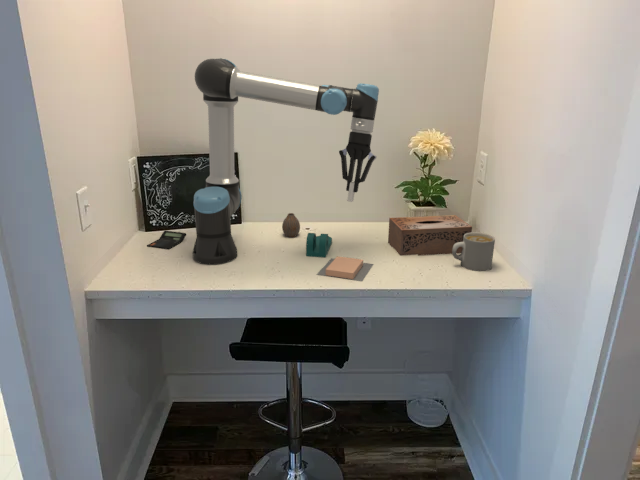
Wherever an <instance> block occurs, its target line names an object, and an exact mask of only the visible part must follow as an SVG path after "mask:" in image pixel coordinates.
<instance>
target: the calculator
mask: <svg viewBox="0 0 640 480" xmlns="http://www.w3.org/2000/svg"><path fill="white" fill-rule="evenodd" d="M186 237H187V233H186V232H180V231H171V230H164V231H163V232H162V234H161V235H160V236H159V238H158V239H156V240H154V241H153V242H152V241H151V242H150V243H149V244H147V245H146V247H148V248H154V249H162V250H168V251H169V250H171V249H173V248H175V247H177V246H178V245H179V244H182V243H181V242H183V241H184V239H185V238H186Z"/></svg>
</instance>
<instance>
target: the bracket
mask: <svg viewBox="0 0 640 480" xmlns="http://www.w3.org/2000/svg"><path fill="white" fill-rule="evenodd" d="M305 241H306V242H305V246H306V247H305V249H306V251H305V256H306V257H312V258H314V257H315V258H326V257H327V255H328V252H329V250H330V248H331V246H332V243H333V238H332V237H331V236H329V233H320V235H317V234H316V233H315V232H308V233H307V235H306V239H305Z"/></svg>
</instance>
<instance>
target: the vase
mask: <svg viewBox="0 0 640 480" xmlns="http://www.w3.org/2000/svg"><path fill="white" fill-rule="evenodd" d="M281 227H282V228H281V229H282V233H283V234H284V235H285V236H286V237H288V238H295V237H297V236H298V235H299V233H300V231H301V224H300V220H299V219H298V218H297V217H296V214H295V213H293V212H289V213H287V215H286V217H285V218H284V219H283V222H282V225H281Z"/></svg>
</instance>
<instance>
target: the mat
mask: <svg viewBox="0 0 640 480" xmlns="http://www.w3.org/2000/svg"><path fill="white" fill-rule="evenodd" d="M334 259H335V258H333V257H330V259H329V260H328V261H327V262H326V263H325V265H323V267H322V268H321V269H320V270H319V271H318V272H317V273H316V275H317V276H320V277H321V276H322V277H329V278H334V279H335V278H336V279H341V280H342V279H343V280H350V281H356V282H363V281H364V280H365V278H366V277H367V275H368V274H369V272H370V271H371V269H372V268H373V266H374V265H375V264H374V263H369V262H363V266H362V268H361V269H360V270H359V272H358V273H357V275H356V276H355V277H354V279H348V278H341V277H335V276H328V275H326V268H327V267H328V266H329V265H330V264H331V263H332V262H333V261H334Z"/></svg>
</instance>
